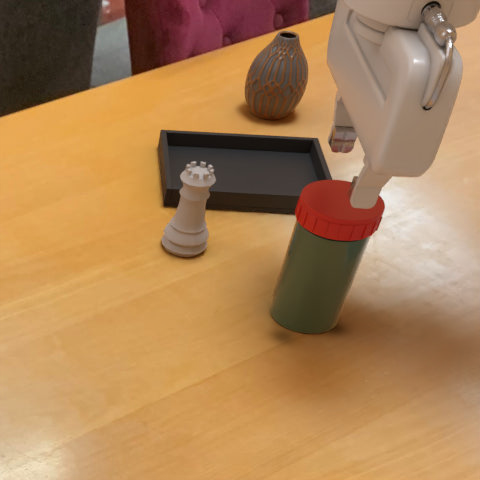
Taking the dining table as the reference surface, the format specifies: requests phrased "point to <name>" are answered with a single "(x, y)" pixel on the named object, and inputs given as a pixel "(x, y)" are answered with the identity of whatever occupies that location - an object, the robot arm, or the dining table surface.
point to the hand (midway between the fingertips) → (348, 175)
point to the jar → (315, 281)
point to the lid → (336, 212)
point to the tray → (243, 168)
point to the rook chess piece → (190, 213)
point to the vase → (277, 77)
